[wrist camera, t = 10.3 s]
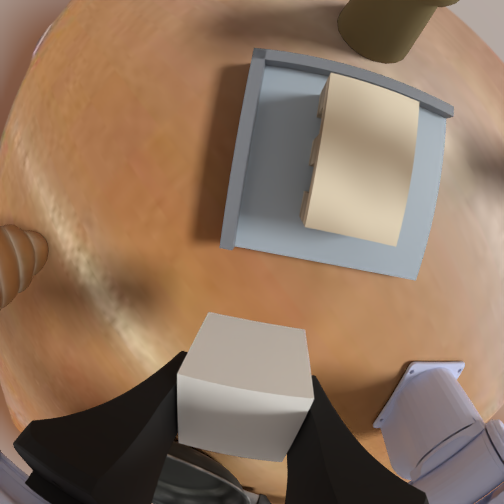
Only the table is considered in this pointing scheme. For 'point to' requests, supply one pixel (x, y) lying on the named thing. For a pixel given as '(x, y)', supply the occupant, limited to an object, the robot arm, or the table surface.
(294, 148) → the dock
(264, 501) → the frying pan
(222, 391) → the white cube
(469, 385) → the table surface
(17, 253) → the cat ice cream
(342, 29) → the pepper shaker
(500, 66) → the table surface
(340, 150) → the block
